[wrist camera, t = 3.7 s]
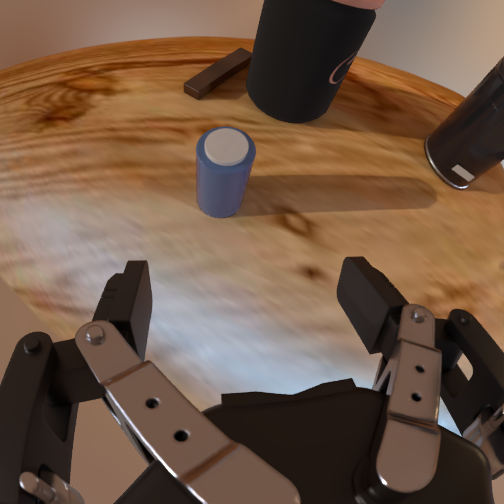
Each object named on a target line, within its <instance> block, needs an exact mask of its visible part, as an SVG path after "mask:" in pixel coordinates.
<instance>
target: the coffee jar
mask: <svg viewBox="0 0 504 504" xmlns="http://www.w3.org/2000/svg"><path fill="white" fill-rule="evenodd" d="M384 1H385V0H264V4H263V8H262V13H261V16H260V21H259V25H258V30H257V34H256V39H255V43H254V48H253V52H252V57H251V62H250V67H249V71H248V76H247V81H246V87H247V91H248V94H249V96H250V98H251V99H252V101H253V102H254V103H255V105H256V106H257V107H258V108H259V109H260V110H261V111H263V112H264V113H265V114H267V115H269V116H271V117H273V118H275V119H277V120H281V121H285V122H289V123H303V122H307V121H311V120H314V119H317V118H318V117H320V116H321V115H323V114H324V113H326V111H327V109H328V108H329V106H330V104H331V102H332V100H333V98H334V96H335V94H336V92H337V91H338V89H339V87H340V85H341V83H342V81H343V79H344V77H345V75H346V74H347V72H348V70H349V68H350V66H351V64H352V62H353V60H354V58H355V57H356V55H357V53H358V51H359V49H360V47H361V45H362V43H363V41H364V39H365V38H366V36H367V34H368V32H369V30H370V28H371V26H372V24H373V22H374V20H375V18H376V13H375V9H378V8H381V6H382V5H383V3H384Z"/></svg>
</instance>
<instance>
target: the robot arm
mask: <svg viewBox="0 0 504 504" xmlns="http://www.w3.org/2000/svg"><path fill="white" fill-rule="evenodd" d="M424 149H425V154H426V156H427V159H428V161H429V163H430V165H431V167H432V168H433V170H434V171H435V172H436V174H437V175H438V176H439V177H440V178H441V179H442V180H443V181H444V182H445V183H446V184H448V185H449V186H451V187H452V188H455V189H458V190H462V189H465V188H466V187H468V186H469V185H470V184H471V183H472V182H473V181H475V180H476V179H478V178H479V177H480V176H482V175H483V174H485V173H486V172H487V171H489V170H490V169H492V168H493V167H494V166H496V165H497V164H498V163H500V162H501V161H502V160H503V159H504V57H503V58H502V59H501V60H500V61H499V62H498V63H497V64H496V66H495V67H494V68H493V69H492V70H491V71H490V72H489V73H488V74H487V75H486V77H485V78H484V79H483V80H482V81H481V82H480V83H479V84H478V85H477V87H476V88H475V89H474V90H473V91H472V92H471V93H470V94H469V95H468V96H467V97H466V98H465V99H464V100H463V102H462V103H461V104H460V105H459V106H458V107H457V108H456V109H455V110H454V111H453V112H452V113H451V114H450V115H449V116H448V117H447V118H446V119H445V120H444V121H443V122H442V123H441V124H440V125H439V126H438V128H437V129H436V130H435V131H434V132H433V133H431V134H430V135H429V136H428V137H427V138H426V139H425V142H424ZM337 299H338V301H339V303H340V305H341V307H342V308H343V310H344V312H345V313H346V315H347V316H348V318H349V320H350V321H351V323H352V325H353V327H354V328H355V330H356V332H357V333H358V335H359V337H360V338H361V340H362V342H363V343H364V345H365V347H366V349H367V350H368V352H369V354H375V353H380V352H381V353H382V354H383V355H382V357H381V359H380V362H379V365H378V369H377V373H376V377H375V380H374V384H373V387H372V389H368V388H361V387H356V385H355V383H354V381H353V379H352V378H350V379H344V380H339V381H333V382H327V383H322V384H320V385H317V386H315V387H312V388H310V389H307V390H305V391H302V392H300V393H297V394H293V395H286V394H275V393H265V392H244V393H229V394H221V401H222V404H219V405H215V406H213V407H210V408H208V409H206V410H204V411H202V412H200V411H199V410H198V409H197V408H196V407H195V406H194V405H193V404H192V403H191V402H190V401H189V400H188V399H187V398H186V397H185V396H184V395H183V394H182V393H181V392H180V391H179V390H178V389H177V388H176V387H175V386H174V385H173V384H172V383H171V382H170V381H169V380H168V379H167V378H166V376H165V375H164V374H163V373H162V372H161V371H160V370H159V369H158V368H157V367H156V366H155V364H154V363H152V362H151V361H149V360H147V361H145V362H144V359H145V352H146V345H147V338H148V331H149V325H150V319H151V312H152V291H151V284H150V276H149V268H148V262H147V261H146V260H141V261H128V262H127V265H126V267H125V270H124V273H116V274H114V275H113V276H112V277H111V278H110V279H109V280H108V281H107V283H106V286H105V288H104V291H103V293H102V296H101V298H100V301H99V303H98V306H97V309H96V311H95V314H94V316H93V319H92V322H89V323H86V324H85V325H83V326H82V327H81V328H80V329H79V330H78V331H77V333H76V335H75V338H73V339H70V340H65V341H60V342H55V343H53V342H52V340H51V338H50V336H49V335H48V334H46V333H43V332H32V333H29V334H27V335H25V336H24V337H23V338H21V339H20V341H19V342H18V343H17V345H16V347H15V350H14V352H13V354H12V357H11V359H10V362H9V364H8V367H7V369H6V372H5V374H4V377H3V379H2V382H1V385H0V504H85V503H84V500H83V498H82V496H81V495H80V493H79V492H77V490H75V489H74V488H73V487H71V486H70V471H71V459H72V449H73V440H74V432H75V425H76V418H77V411H78V405H79V402H84V401H89V400H94V399H99V398H101V399H102V401H103V402H104V404H105V405H106V407H107V408H108V410H109V411H110V413H111V414H112V416H113V417H114V418H115V420H116V421H117V423H118V424H119V426H120V427H121V429H122V430H123V431H124V433H125V434H126V436H127V437H128V438H129V440H130V441H131V443H132V444H133V446H134V447H135V449H136V450H137V451H138V453H139V454H140V455H141V457H142V458H143V459H144V460H145V462H146V463H147V464H148V465H149V466H148V467H147V468H146V470H145V471H144V472H143V473H142V474H141V475H140V476H139V477H138V478H137V479H136V480H135V482H134V483H133V484H132V485H131V486H130V487H129V488H128V489H127V490H126V491H125V492H124V493H123V494H122V495H121V496H120V497H119V498H118V499H117V500H116V502H115V503H114V504H495V503H494V499H493V493H492V480H495V479H497V478H498V477H499V476H501V475H502V474H503V473H504V353H503V351H502V350H501V349H500V347H499V346H498V345H497V344H496V342H495V341H494V340H493V339H492V337H491V336H490V335H489V334H488V333H487V331H486V330H485V329H484V328H483V327H482V325H481V324H480V323H479V322H478V321H477V319H476V318H475V317H474V316H473V315H472V314H470V313H469V312H467V311H465V310H462V309H454V310H452V311H451V312H450V314H449V316H448V319H437V318H434V315H433V314H432V313H431V311H429V310H428V309H427V308H425V307H423V306H421V305H418V304H409V303H408V302H407V300H406V299H405V298H404V297H403V296H402V295H401V293H400V292H399V291H398V290H397V289H396V288H395V287H394V285H393V284H392V283H391V282H389V280H388V278H387V277H386V276H385V275H384V274H383V273H382V272H380V271H379V270H377V269H375V268H374V267H372V266H371V265H370V263H369V262H368V261H367V260H366V259H365V258H364V257H362V256H360V257H346V258H345V259H344V261H343V265H342V269H341V274H340V278H339V282H338V286H337ZM463 353H464V355H465V356H466V357H467V359H468V360H469V362H470V363H471V365H472V367H473V375H472V377H471V378H470V380H469V381H468V380H467V378H466V376H465V375H464V373H463V372H462V370H461V369H460V367H459V366H458V364H457V362H458V360H459V359H460V357H461V355H462V354H463ZM440 396H441V398H442V400H443V402H444V403H445V405H446V407H447V409H448V411H449V413H450V414H451V416H452V418H453V420H454V422H455V424H456V426H457V428H458V429H459V431H460V433H461V435H462V437H461V436H459V435H457V434H455V433H453V432H451V431H450V430H448V429H446V428H444V427H442V426H440V425H438V414H439V403H440Z"/></svg>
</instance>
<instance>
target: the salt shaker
mask: <svg viewBox="0 0 504 504" xmlns="http://www.w3.org/2000/svg"><path fill="white" fill-rule="evenodd" d="M255 155H256V148H255V145H254V142H253V141H252V139H251V138H250V137H249V136H248V135H247V134H246V133H245V132H243V131H241V130H239V129H236V128H233V127H217V128H213V129H211V130H209V131H207V132H206V133H204V134H203V135H202V136H201V138H200V139H199V141H198V143H197V147H196V186H197V203H198V205H199V207H200V209H201V210H202V211H203V212H204V213H205V214H207V215H209V216H211V217H215V218H225V217H229V216H231V215H233V214H234V213H236V212H237V211H238V209H239V208H240V206H241V204H242V201H243V197H244V193H245V190H246V186H247V183H248V180H249V176H250V173H251V169H252V166H253V162H254V159H255Z"/></svg>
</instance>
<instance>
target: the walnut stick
mask: <svg viewBox="0 0 504 504" xmlns="http://www.w3.org/2000/svg"><path fill="white" fill-rule="evenodd" d="M251 57H252V53H251V52H249V51H247V50H245V49H243V48H239V49H237V50H236V51H234V52H232V53H231V54H229V55H227V56H226V57H224V58H222V59H221V60H219V61H217V62H216V63H214V64H213V65H211V66H209V67H208V68H206V69H205V70H203V71H202V72H200V73H199V74H197V75H196V76H194V77H193V78H191V79H190V80H188V81H187V82H185V83H184V92H185V93H187V94H188V95H190V96H192V97H194V98H195V99H197V100H199V99H200V98H202V97H203V96H204V95H206V94H207V93H208V92H210V91H211V90H213V89H214V88H215V87H217V86H218V85H219V84H221V83H222V82H224V81H225V80H227V79H228V78H230V77H231V76H232V75H234V74H235V73H237V72H238V71H240V70H241V69H243V68H244V67H246V66H247V65H249V64H250V62H251Z"/></svg>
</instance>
